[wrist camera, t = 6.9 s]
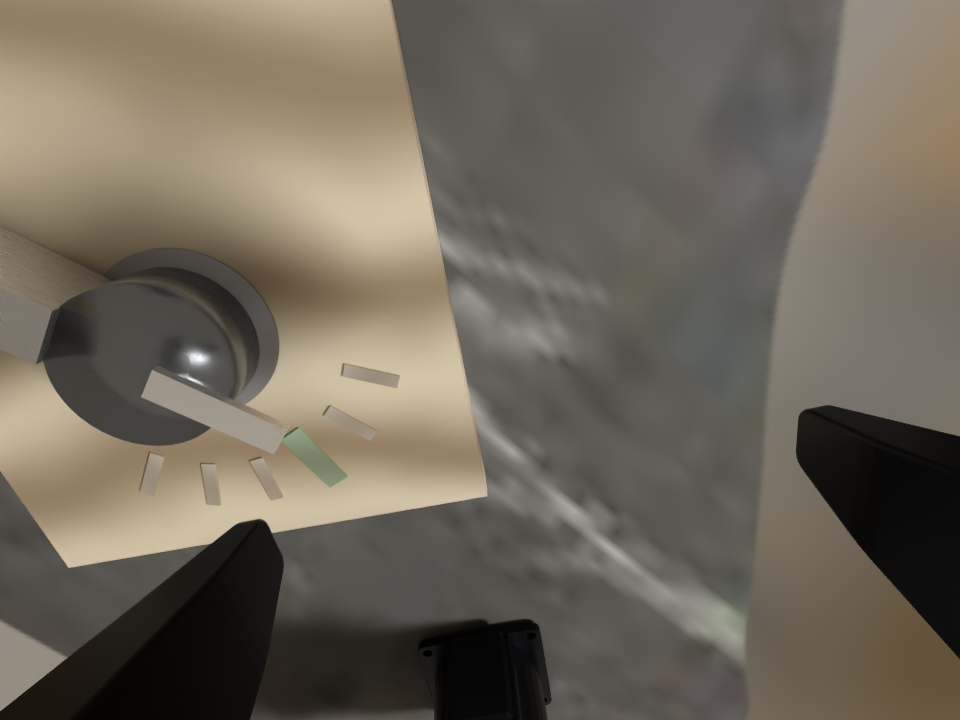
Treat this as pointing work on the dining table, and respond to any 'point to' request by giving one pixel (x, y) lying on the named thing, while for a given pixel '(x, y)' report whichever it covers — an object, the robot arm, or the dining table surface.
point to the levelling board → (236, 260)
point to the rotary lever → (134, 347)
